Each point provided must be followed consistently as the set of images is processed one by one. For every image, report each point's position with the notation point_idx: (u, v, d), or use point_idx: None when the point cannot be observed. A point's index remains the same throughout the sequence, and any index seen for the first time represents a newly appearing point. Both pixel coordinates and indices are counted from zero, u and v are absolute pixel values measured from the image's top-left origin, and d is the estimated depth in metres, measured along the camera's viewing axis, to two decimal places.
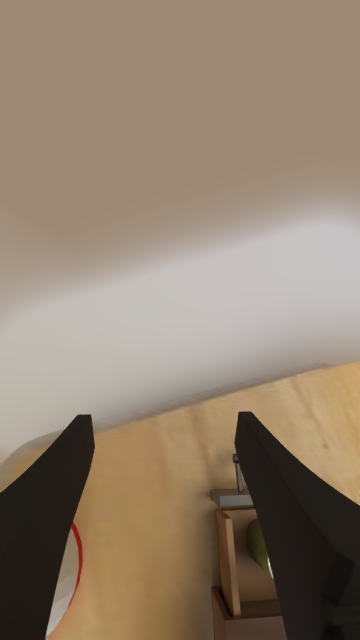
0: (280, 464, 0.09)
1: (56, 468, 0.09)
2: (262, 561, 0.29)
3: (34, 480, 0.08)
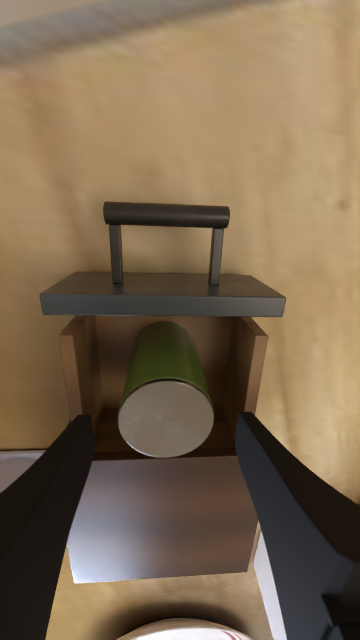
0: (280, 464, 0.09)
1: (56, 468, 0.09)
2: None
3: (34, 480, 0.08)
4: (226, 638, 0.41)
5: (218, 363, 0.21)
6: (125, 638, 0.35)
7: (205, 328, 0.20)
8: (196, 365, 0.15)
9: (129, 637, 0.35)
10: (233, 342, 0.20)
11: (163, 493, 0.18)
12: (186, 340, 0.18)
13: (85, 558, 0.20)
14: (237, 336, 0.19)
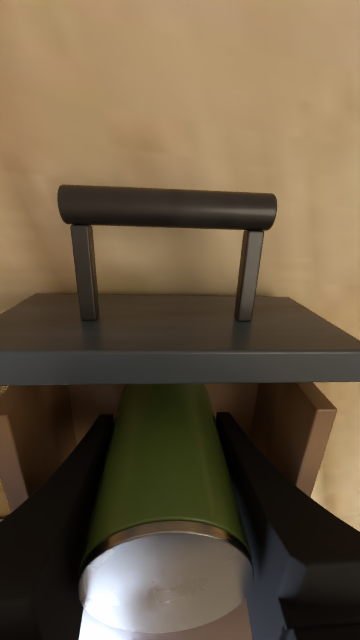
0: (250, 465, 0.09)
1: (86, 467, 0.09)
2: None
3: (67, 479, 0.08)
4: None
5: (240, 417, 0.15)
6: None
7: None
8: (217, 459, 0.09)
9: None
10: (264, 393, 0.14)
11: None
12: (198, 402, 0.12)
13: None
14: (273, 389, 0.13)
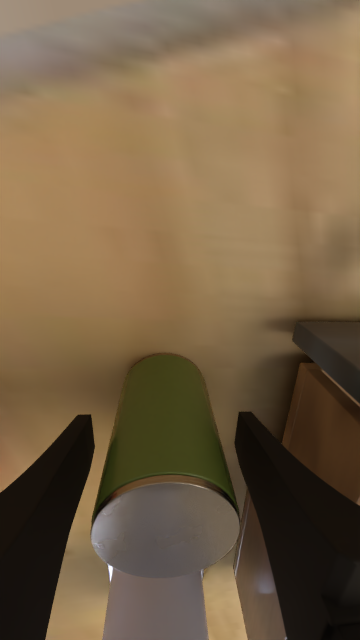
0: (280, 464, 0.09)
1: (56, 468, 0.09)
2: None
3: (34, 480, 0.08)
4: None
5: None
6: None
7: None
8: (210, 432, 0.10)
9: None
10: None
11: None
12: (194, 385, 0.13)
13: None
14: None
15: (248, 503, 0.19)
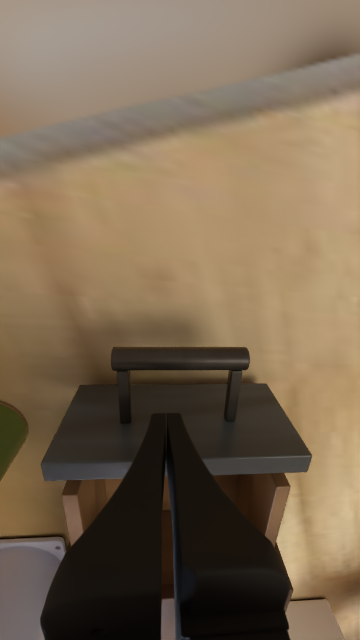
0: (182, 467, 0.09)
1: (159, 464, 0.09)
2: None
3: (144, 476, 0.08)
4: None
5: None
6: None
7: None
8: None
9: None
10: None
11: (174, 626, 0.17)
12: None
13: None
14: None
15: None
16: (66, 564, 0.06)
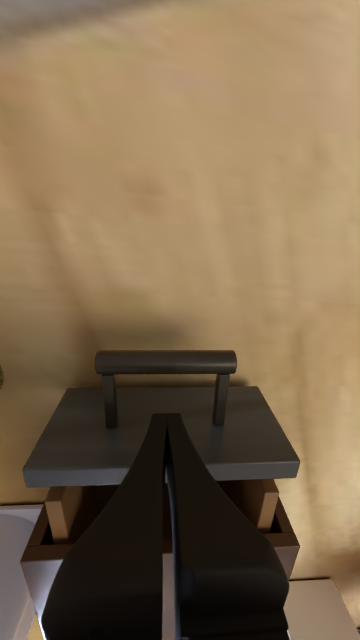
0: (181, 467, 0.09)
1: (160, 464, 0.09)
2: None
3: (145, 476, 0.08)
4: None
5: None
6: None
7: None
8: None
9: None
10: None
11: (163, 589, 0.14)
12: None
13: None
14: None
15: None
16: (67, 564, 0.06)
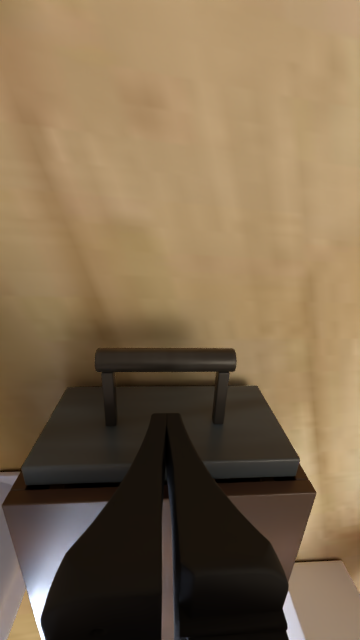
0: (181, 467, 0.09)
1: (159, 464, 0.09)
2: None
3: (145, 476, 0.08)
4: None
5: None
6: None
7: None
8: None
9: None
10: None
11: (163, 544, 0.13)
12: None
13: None
14: None
15: None
16: (67, 564, 0.06)
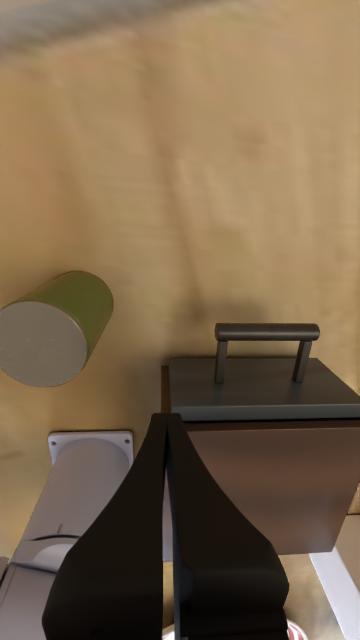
0: (181, 467, 0.09)
1: (160, 464, 0.09)
2: None
3: (145, 476, 0.08)
4: None
5: None
6: None
7: None
8: (84, 300, 0.15)
9: None
10: None
11: (266, 467, 0.18)
12: (89, 284, 0.18)
13: None
14: None
15: None
16: (68, 564, 0.06)
